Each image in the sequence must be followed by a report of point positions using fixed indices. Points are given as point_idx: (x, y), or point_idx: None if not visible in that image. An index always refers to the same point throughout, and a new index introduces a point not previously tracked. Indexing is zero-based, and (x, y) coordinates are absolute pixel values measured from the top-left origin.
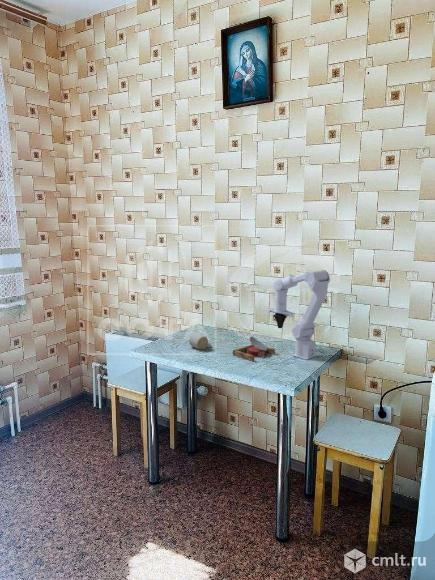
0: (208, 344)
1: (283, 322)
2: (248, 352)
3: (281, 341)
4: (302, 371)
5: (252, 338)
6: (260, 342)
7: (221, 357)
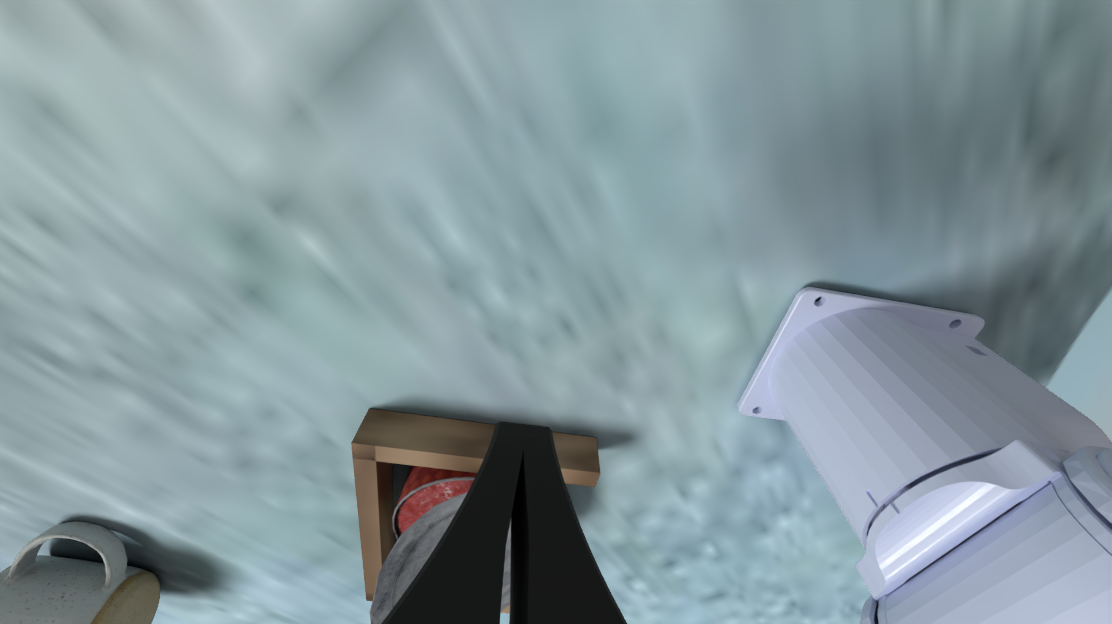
0: (117, 572)
1: (575, 535)
2: None
3: (404, 14)
4: None
5: (393, 607)
6: (437, 506)
7: (362, 603)
